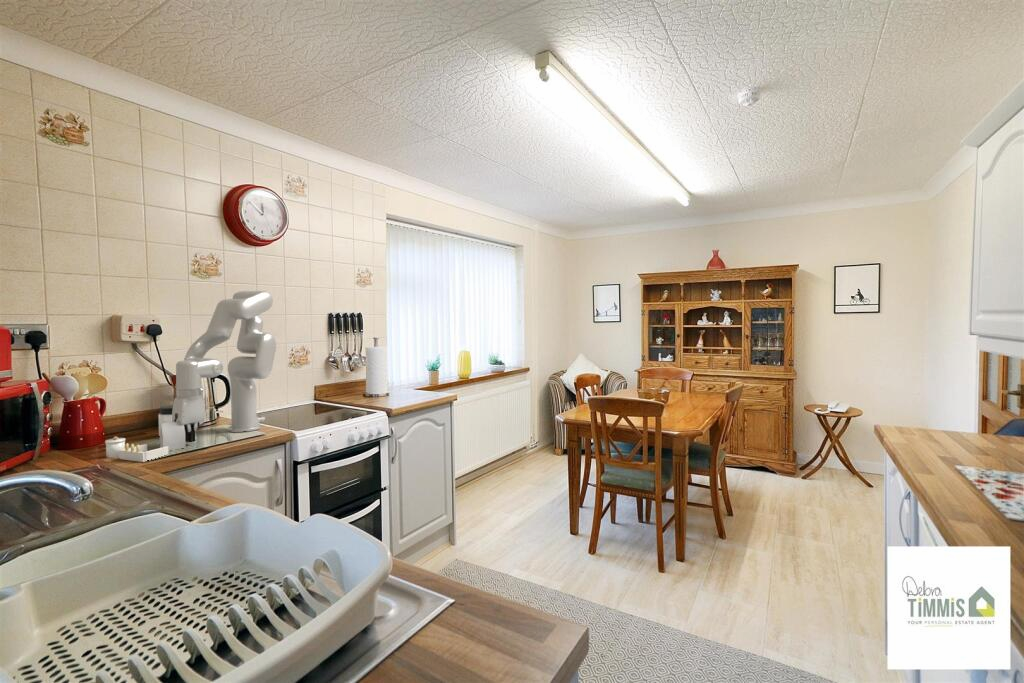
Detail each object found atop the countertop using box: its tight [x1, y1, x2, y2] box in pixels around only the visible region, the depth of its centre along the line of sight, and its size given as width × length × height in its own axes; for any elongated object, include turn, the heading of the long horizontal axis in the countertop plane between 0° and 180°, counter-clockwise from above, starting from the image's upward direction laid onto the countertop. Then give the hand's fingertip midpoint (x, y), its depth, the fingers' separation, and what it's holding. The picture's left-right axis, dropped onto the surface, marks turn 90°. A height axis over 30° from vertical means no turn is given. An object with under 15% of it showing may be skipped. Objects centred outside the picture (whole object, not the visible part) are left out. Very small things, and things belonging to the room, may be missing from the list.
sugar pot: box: [104, 436, 126, 459], centre depth 163 cm, size 5×5×7 cm
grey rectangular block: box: [159, 421, 186, 452], centre depth 171 cm, size 4×7×10 cm, turn 141°
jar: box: [158, 404, 173, 437], centre depth 191 cm, size 9×8×12 cm
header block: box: [118, 442, 169, 463], centre depth 161 cm, size 8×11×5 cm
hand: (190, 441), depth 177 cm, fingers closed
